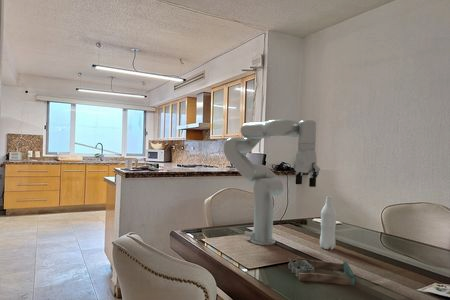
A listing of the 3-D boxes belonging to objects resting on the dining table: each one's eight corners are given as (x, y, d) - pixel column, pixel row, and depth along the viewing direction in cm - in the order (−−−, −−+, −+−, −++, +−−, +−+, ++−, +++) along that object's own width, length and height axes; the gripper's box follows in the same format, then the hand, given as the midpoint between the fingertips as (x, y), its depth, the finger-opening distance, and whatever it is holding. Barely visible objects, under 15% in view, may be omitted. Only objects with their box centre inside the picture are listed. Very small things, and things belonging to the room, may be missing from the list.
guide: (298, 280, 107) (299, 270, 107) (296, 263, 124) (297, 254, 124) (355, 287, 103) (355, 277, 103) (345, 268, 120) (345, 259, 120)
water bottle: (336, 251, 141) (338, 197, 141) (320, 249, 143) (322, 196, 143) (333, 246, 148) (336, 195, 148) (318, 245, 150) (320, 194, 150)
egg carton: (286, 267, 120) (286, 257, 120) (304, 267, 121) (304, 256, 121) (296, 278, 109) (297, 267, 109) (316, 278, 110) (316, 267, 110)
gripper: (288, 147, 143) (287, 183, 143) (312, 147, 128) (311, 187, 127) (301, 147, 146) (300, 183, 146) (326, 148, 130) (325, 187, 130)
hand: (305, 185), depth 137 cm, fingers open, 9 cm apart
